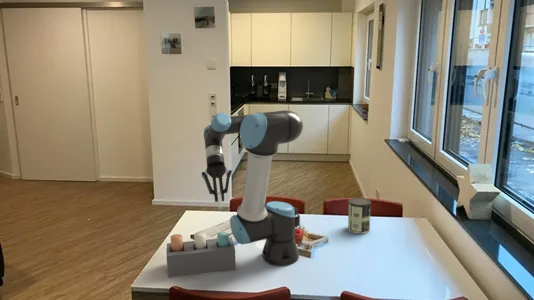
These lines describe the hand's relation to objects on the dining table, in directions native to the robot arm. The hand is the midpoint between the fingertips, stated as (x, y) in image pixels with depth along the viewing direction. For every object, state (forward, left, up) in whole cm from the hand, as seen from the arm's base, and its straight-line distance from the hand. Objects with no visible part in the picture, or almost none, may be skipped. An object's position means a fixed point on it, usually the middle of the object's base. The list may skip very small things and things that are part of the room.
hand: (220, 208), depth 181 cm
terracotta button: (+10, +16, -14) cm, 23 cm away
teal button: (-4, +5, -15) cm, 16 cm away
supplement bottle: (-15, -36, -22) cm, 44 cm away
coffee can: (-41, -54, -22) cm, 71 cm away
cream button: (+3, +10, -14) cm, 17 cm away
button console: (+3, +10, -22) cm, 24 cm away
